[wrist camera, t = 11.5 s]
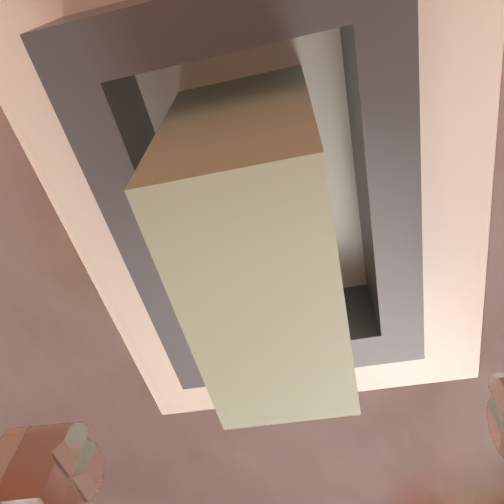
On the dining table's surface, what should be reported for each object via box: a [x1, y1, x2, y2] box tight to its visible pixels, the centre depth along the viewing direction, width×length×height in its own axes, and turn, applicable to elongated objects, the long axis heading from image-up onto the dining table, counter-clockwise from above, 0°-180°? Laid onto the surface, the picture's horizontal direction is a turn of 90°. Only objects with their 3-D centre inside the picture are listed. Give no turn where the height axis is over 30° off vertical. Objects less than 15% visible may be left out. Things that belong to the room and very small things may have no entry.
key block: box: [124, 65, 361, 430], centre depth 14 cm, size 4×8×7 cm, turn 12°
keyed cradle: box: [0, 0, 504, 415], centre depth 16 cm, size 24×16×4 cm, turn 13°
